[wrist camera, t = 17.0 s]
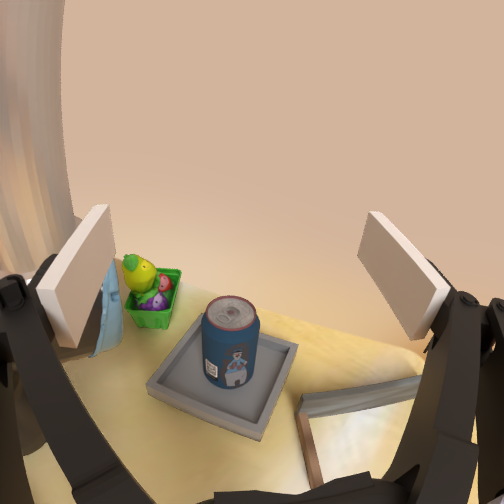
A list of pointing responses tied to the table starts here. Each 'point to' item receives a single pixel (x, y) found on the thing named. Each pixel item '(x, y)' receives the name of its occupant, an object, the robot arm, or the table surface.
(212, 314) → the soda can
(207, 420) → the grey tray
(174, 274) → the fruit basket
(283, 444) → the table surface
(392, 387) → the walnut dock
